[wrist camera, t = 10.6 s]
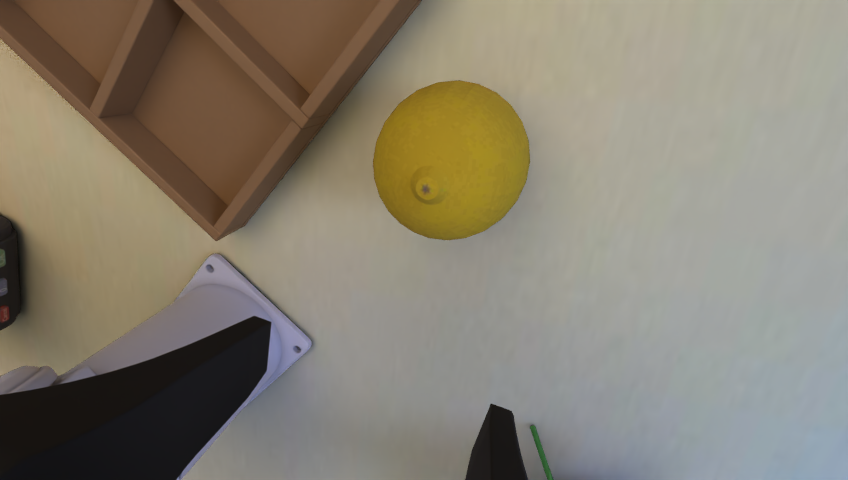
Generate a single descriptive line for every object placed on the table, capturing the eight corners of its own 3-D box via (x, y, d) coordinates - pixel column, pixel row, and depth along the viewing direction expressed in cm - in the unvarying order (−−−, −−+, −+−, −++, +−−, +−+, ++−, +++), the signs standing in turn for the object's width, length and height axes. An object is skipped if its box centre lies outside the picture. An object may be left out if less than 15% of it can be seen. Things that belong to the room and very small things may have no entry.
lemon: (420, 66, 19) (344, 71, 12) (547, 89, 18) (548, 109, 11) (403, 186, 21) (332, 251, 14) (516, 212, 20) (499, 295, 13)
